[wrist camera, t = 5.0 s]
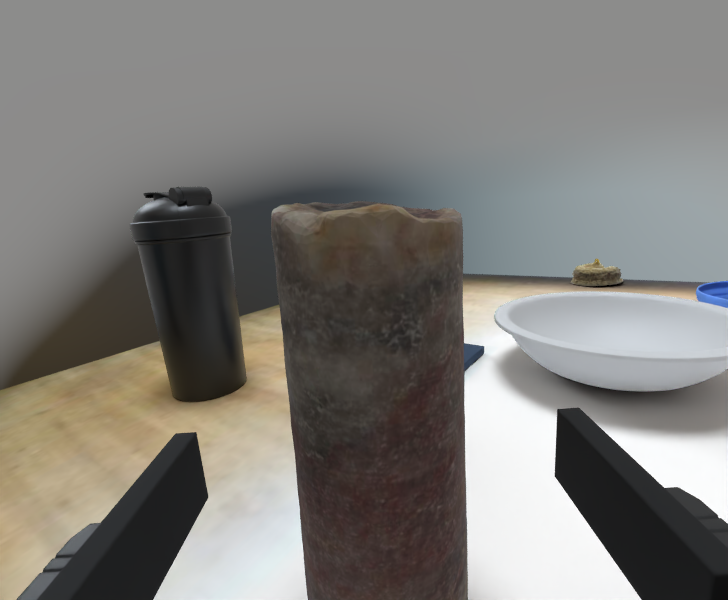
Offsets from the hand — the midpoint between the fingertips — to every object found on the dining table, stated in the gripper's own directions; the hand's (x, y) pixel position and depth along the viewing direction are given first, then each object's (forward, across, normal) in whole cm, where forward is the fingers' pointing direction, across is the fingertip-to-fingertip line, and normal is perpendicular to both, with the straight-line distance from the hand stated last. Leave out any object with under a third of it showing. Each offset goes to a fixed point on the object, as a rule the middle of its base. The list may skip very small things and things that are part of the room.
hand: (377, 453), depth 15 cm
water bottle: (+32, -20, -11) cm, 39 cm away
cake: (+73, +49, -11) cm, 88 cm away
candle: (+2, 0, -11) cm, 11 cm away
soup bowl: (+28, +26, -11) cm, 39 cm away
